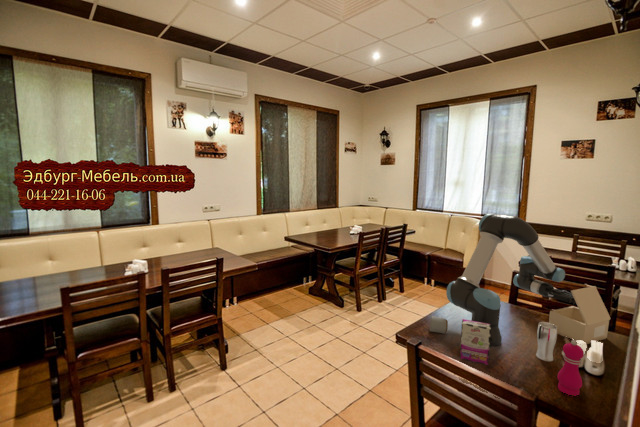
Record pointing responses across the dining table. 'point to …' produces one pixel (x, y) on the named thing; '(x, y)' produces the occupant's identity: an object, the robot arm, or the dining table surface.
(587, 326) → the carton
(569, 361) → the pepper mill
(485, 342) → the candy bar box
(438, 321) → the grey rounded block
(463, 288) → the robot arm
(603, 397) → the dining table surface
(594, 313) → the carton lid
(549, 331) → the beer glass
